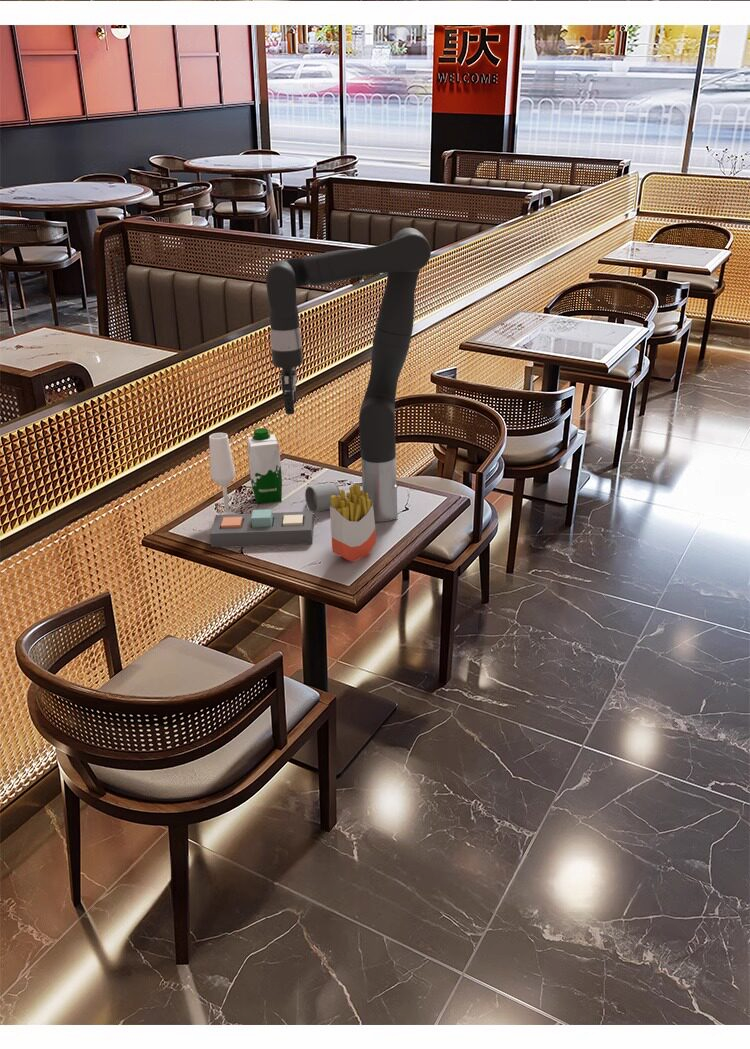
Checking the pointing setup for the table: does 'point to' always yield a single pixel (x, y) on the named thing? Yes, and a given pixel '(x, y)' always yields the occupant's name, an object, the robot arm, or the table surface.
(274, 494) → the milk carton
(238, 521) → the terracotta key
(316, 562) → the table surface
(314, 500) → the ceramic mug
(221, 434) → the champagne flute
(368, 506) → the french fries container
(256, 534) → the grey long flat block
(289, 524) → the sand key
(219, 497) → the table surface
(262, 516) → the teal key
